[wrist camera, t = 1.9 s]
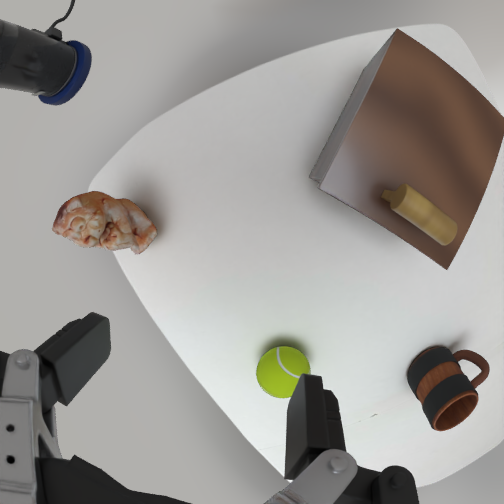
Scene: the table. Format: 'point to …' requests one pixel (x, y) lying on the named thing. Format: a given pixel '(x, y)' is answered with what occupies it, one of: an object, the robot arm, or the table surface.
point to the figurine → (104, 223)
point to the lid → (418, 150)
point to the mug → (446, 385)
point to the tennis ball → (281, 371)
